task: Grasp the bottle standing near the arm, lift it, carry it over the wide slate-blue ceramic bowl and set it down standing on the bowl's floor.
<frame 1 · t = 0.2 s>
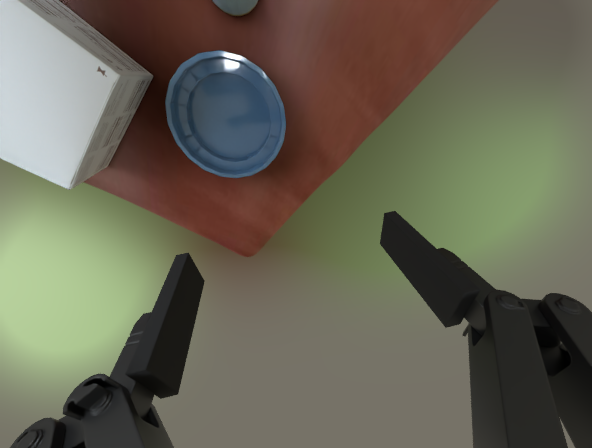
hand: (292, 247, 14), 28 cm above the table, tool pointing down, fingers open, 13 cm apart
supplement box: (78, 91, 29), on the table
bowl: (231, 119, 34), on the table
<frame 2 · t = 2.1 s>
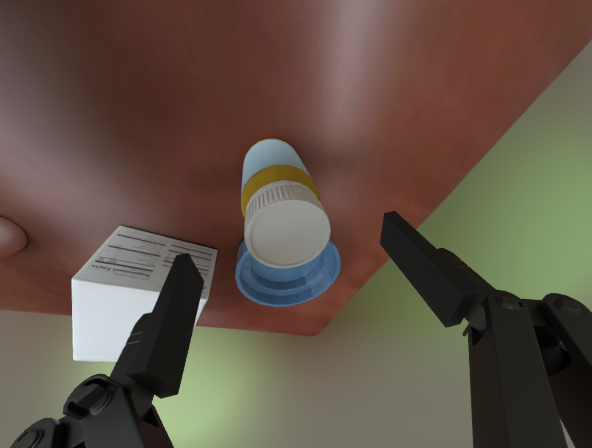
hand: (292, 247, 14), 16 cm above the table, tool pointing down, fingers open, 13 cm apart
bottle: (271, 165, 27), on the table
supplement box: (162, 274, 34), on the table
bowl: (286, 254, 36), on the table
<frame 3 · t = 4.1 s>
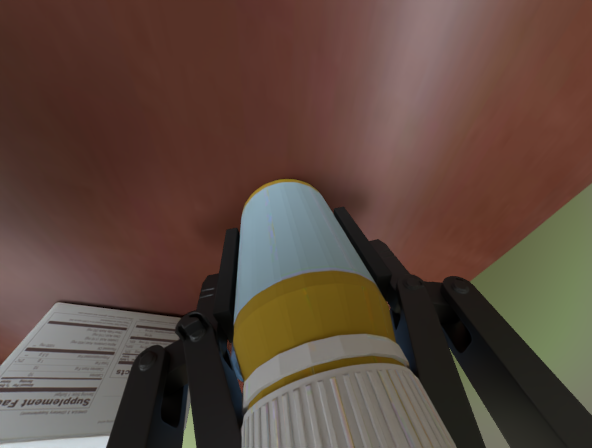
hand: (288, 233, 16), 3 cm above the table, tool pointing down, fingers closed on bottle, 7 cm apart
bottle: (284, 213, 18), on the table, touching gripper
supplement box: (130, 350, 25), on the table
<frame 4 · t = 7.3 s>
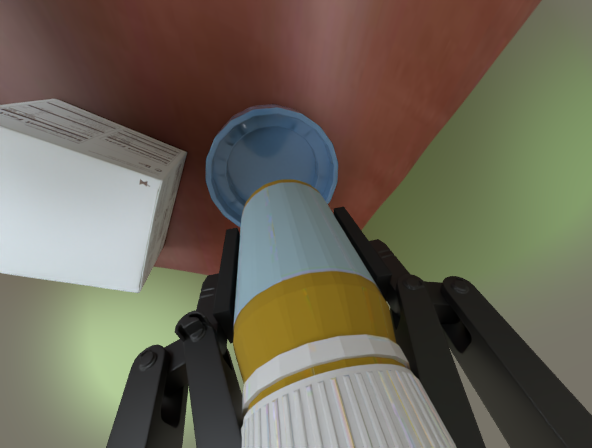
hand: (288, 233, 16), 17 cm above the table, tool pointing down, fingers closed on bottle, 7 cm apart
bottle: (284, 214, 18), point 14 cm above the table, touching gripper
supplement box: (121, 188, 28), on the table
bowl: (272, 169, 30), on the table
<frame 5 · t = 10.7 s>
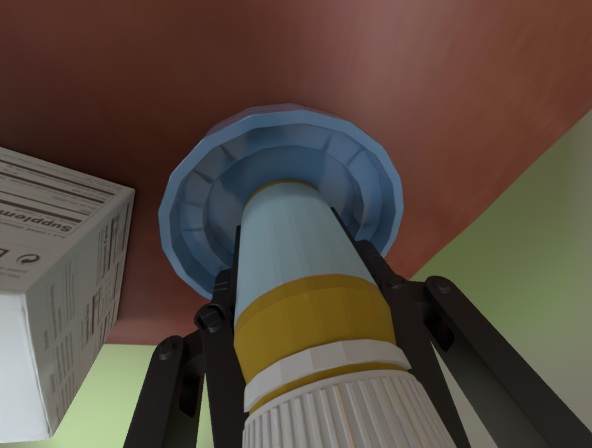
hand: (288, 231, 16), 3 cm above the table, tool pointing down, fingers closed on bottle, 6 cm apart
bottle: (284, 214, 18), point 1 cm above the table, touching bowl, gripper
supplement box: (27, 247, 16), on the table
bowl: (283, 210, 18), on the table
when the fingers open (3 cm above the table, at t = 10.7 s): bottle stays where it is, resting on bowl.
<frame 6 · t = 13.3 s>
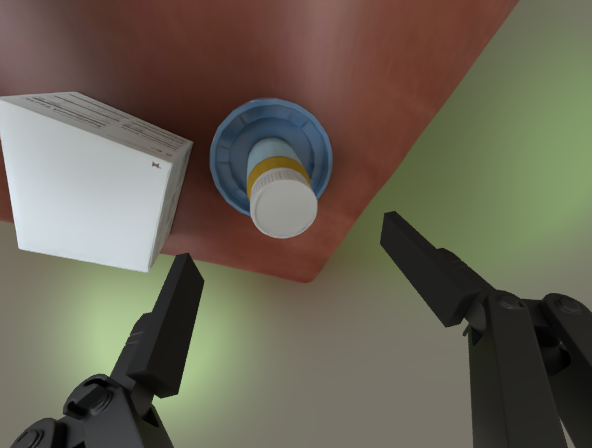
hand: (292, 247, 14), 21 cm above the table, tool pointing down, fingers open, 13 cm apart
bottle: (272, 160, 32), point 1 cm above the table, touching bowl
supplement box: (131, 176, 30), on the table
bowl: (271, 159, 32), on the table
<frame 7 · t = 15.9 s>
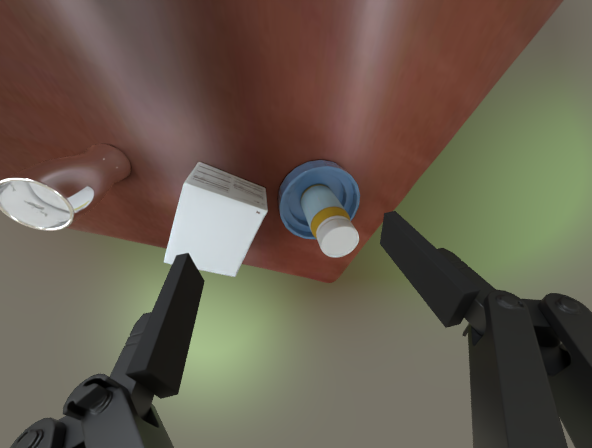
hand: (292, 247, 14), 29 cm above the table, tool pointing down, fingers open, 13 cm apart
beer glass: (110, 162, 35), on the table
bottle: (315, 197, 45), point 1 cm above the table, touching bowl
supplement box: (220, 210, 44), on the table
bowl: (315, 196, 45), on the table
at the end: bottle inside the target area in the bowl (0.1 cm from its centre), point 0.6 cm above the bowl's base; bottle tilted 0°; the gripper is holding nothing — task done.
